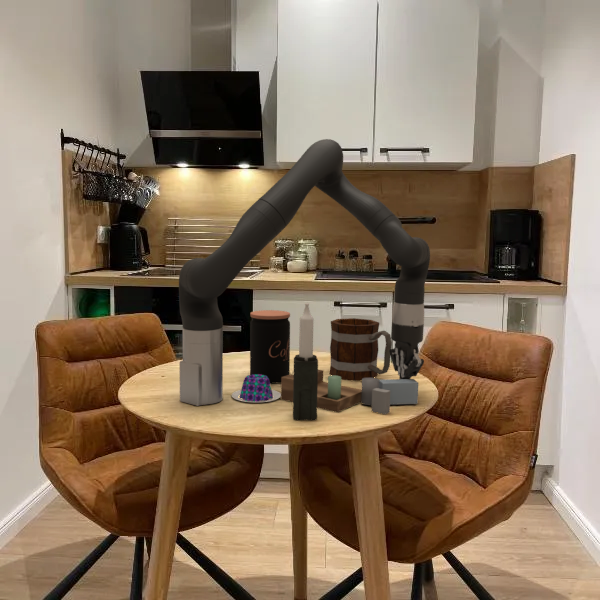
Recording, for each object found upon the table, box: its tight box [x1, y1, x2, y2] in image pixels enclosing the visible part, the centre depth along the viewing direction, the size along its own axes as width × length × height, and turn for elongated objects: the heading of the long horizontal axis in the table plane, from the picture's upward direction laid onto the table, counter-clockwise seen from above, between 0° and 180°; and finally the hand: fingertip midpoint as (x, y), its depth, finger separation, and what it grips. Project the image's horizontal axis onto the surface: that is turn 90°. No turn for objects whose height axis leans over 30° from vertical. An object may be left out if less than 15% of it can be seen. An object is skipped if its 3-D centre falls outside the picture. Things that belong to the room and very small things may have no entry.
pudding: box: [231, 374, 281, 403], centre depth 143 cm, size 12×12×5 cm
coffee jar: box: [249, 309, 291, 384], centre depth 159 cm, size 11×11×18 cm
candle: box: [292, 302, 319, 421], centre depth 128 cm, size 5×5×25 cm
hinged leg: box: [360, 377, 419, 406], centre depth 139 cm, size 13×4×6 cm, turn 98°
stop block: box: [371, 388, 391, 415], centre depth 133 cm, size 2×4×5 cm, turn 54°
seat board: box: [280, 369, 362, 413], centre depth 141 cm, size 12×16×5 cm
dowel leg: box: [327, 375, 342, 400], centre depth 136 cm, size 3×3×7 cm
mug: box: [329, 317, 393, 382], centre depth 163 cm, size 20×14×15 cm
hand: (404, 391), depth 145 cm, fingers closed
